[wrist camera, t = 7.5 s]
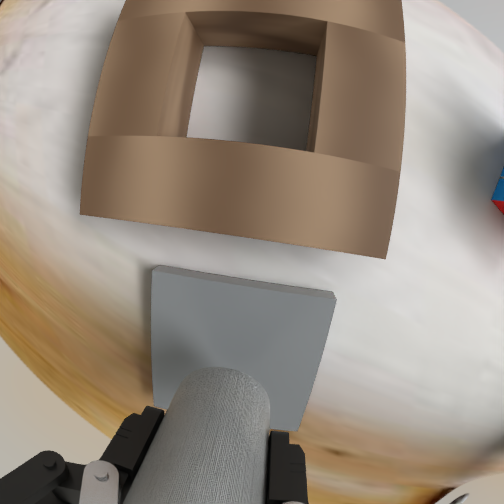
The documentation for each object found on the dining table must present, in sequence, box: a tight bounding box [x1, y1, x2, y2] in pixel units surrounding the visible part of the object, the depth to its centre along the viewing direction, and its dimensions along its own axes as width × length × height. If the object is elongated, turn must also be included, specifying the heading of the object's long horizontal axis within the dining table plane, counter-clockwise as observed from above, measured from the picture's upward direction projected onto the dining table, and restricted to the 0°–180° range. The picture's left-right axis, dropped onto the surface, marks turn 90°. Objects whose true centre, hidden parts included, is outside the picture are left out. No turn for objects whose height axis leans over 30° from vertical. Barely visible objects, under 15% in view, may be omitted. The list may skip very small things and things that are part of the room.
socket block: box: [80, 0, 406, 259], centre depth 12 cm, size 14×14×4 cm
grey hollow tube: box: [123, 367, 270, 504], centre depth 8 cm, size 4×4×10 cm
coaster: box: [151, 265, 337, 431], centre depth 17 cm, size 10×10×1 cm
